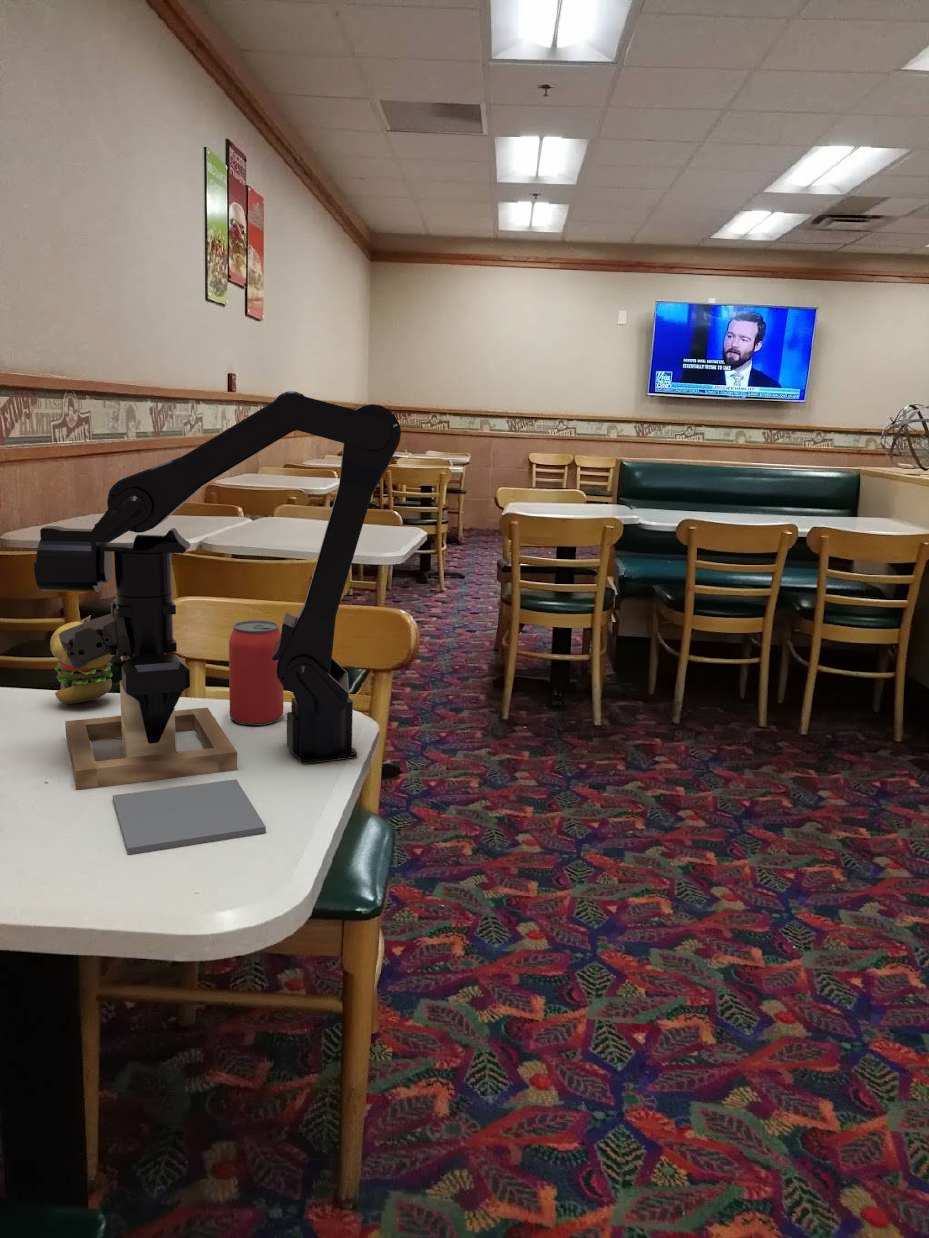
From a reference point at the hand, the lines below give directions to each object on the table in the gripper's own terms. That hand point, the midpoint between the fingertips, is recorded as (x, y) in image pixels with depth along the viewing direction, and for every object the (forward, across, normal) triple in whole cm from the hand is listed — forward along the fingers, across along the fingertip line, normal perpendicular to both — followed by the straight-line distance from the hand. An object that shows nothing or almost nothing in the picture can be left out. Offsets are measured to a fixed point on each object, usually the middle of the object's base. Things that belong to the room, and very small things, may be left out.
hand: (148, 731), depth 103 cm
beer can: (+3, -8, +14) cm, 16 cm away
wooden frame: (+2, 0, 0) cm, 2 cm away
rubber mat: (+3, +18, +1) cm, 18 cm away
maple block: (+3, 0, 0) cm, 3 cm away
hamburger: (+3, -20, -5) cm, 21 cm away
